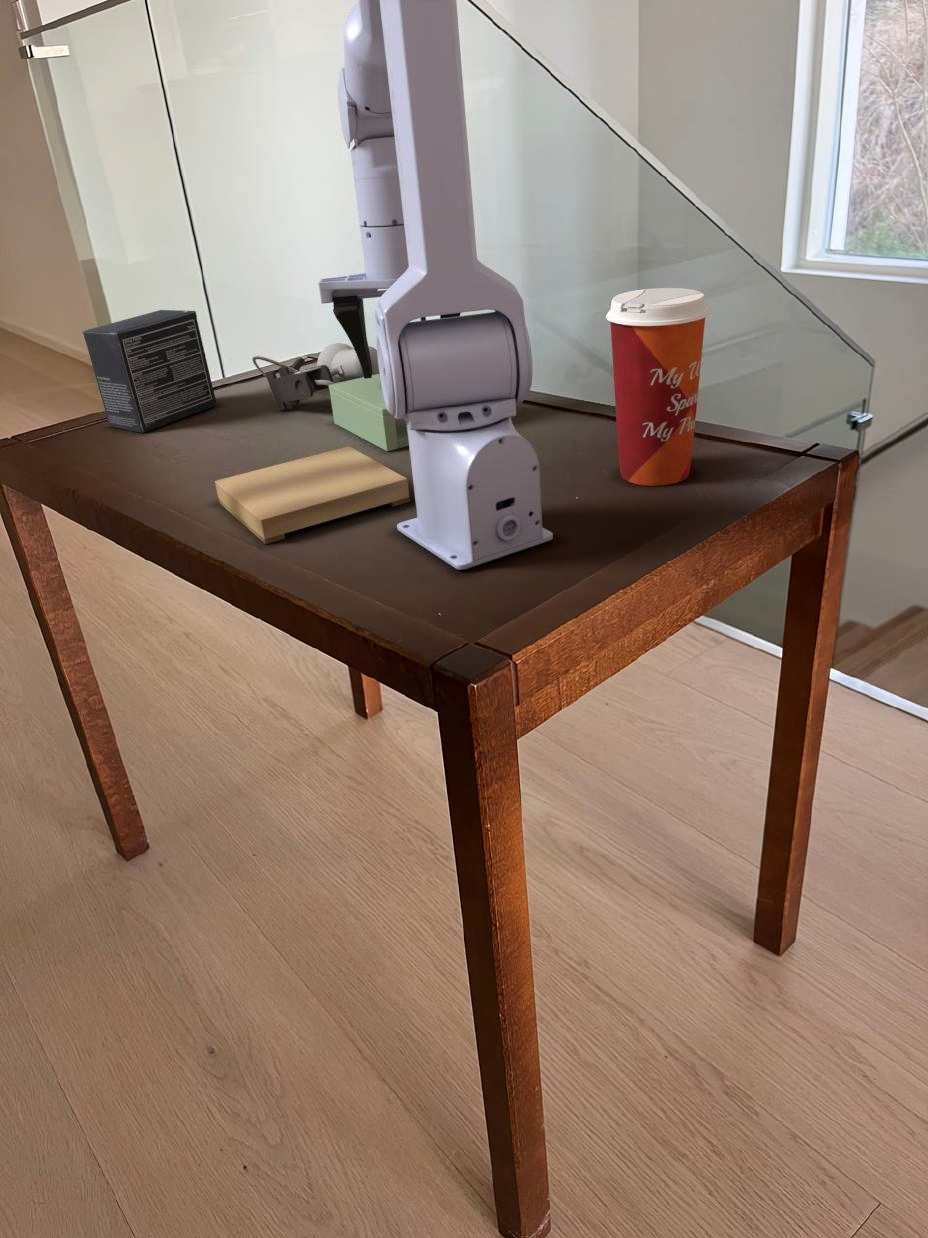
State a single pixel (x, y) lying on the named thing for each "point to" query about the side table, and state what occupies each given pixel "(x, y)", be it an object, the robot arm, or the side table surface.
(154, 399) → the small box
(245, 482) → the low shelf
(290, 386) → the clip-on lamp
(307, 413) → the side table surface
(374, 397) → the shelf stand
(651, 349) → the paper cup
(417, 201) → the robot arm
